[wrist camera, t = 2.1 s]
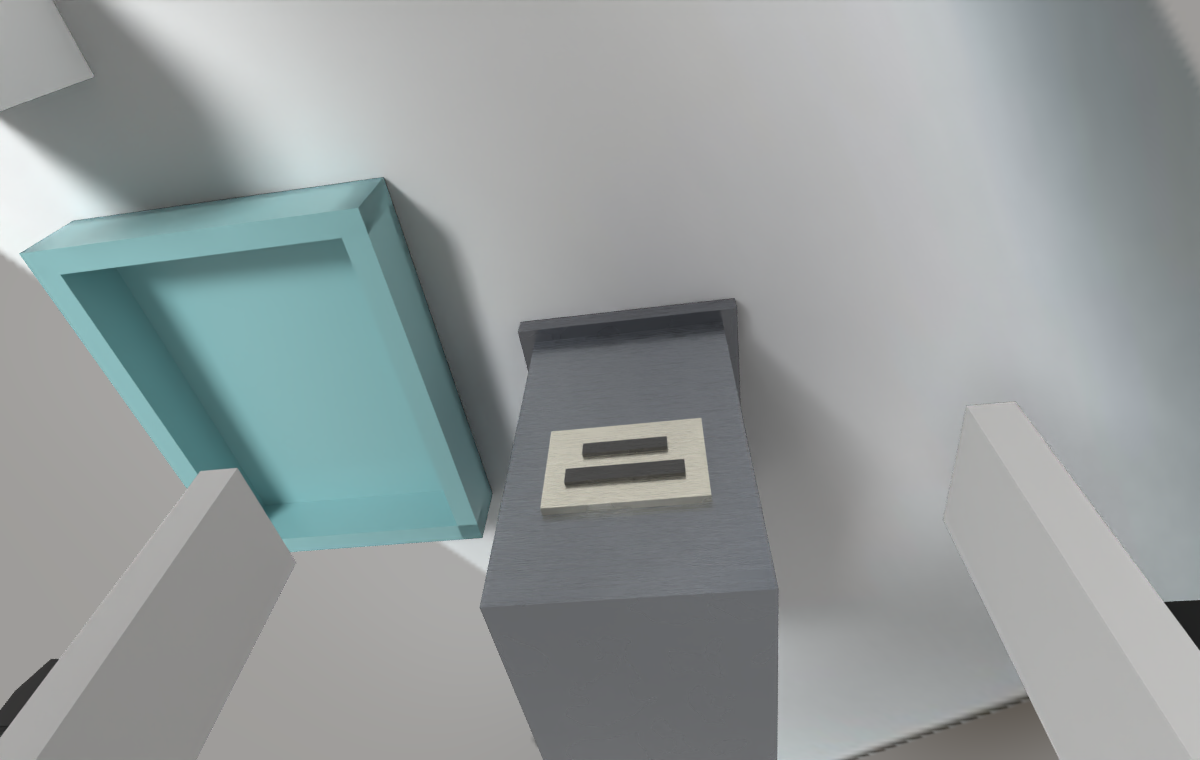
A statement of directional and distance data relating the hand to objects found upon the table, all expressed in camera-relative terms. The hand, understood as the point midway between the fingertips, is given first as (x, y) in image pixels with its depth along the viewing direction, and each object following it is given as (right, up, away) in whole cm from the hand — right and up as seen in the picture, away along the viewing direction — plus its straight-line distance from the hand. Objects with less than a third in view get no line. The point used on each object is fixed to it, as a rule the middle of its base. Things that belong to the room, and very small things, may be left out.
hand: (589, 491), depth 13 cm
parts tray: (-13, +2, +19) cm, 23 cm away
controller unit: (+2, +1, +20) cm, 20 cm away
